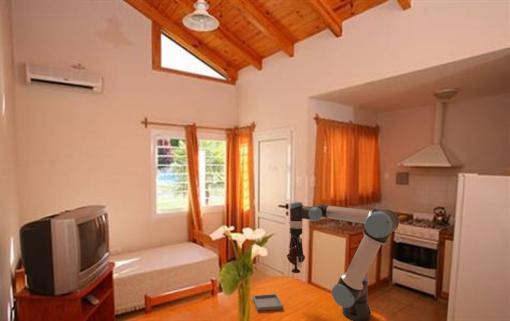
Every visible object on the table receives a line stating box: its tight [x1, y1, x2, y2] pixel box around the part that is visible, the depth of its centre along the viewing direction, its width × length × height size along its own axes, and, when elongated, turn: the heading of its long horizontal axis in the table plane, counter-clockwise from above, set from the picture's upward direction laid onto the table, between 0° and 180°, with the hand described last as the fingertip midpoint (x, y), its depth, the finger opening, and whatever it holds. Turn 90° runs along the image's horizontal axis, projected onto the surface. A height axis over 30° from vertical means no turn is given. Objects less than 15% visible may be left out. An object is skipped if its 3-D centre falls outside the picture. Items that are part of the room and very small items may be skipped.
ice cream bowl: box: [286, 246, 306, 274], centre depth 165 cm, size 11×11×15 cm
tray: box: [252, 293, 284, 313], centre depth 163 cm, size 15×15×2 cm
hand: (295, 263), depth 165 cm, fingers closed on ice cream bowl, 11 cm apart
